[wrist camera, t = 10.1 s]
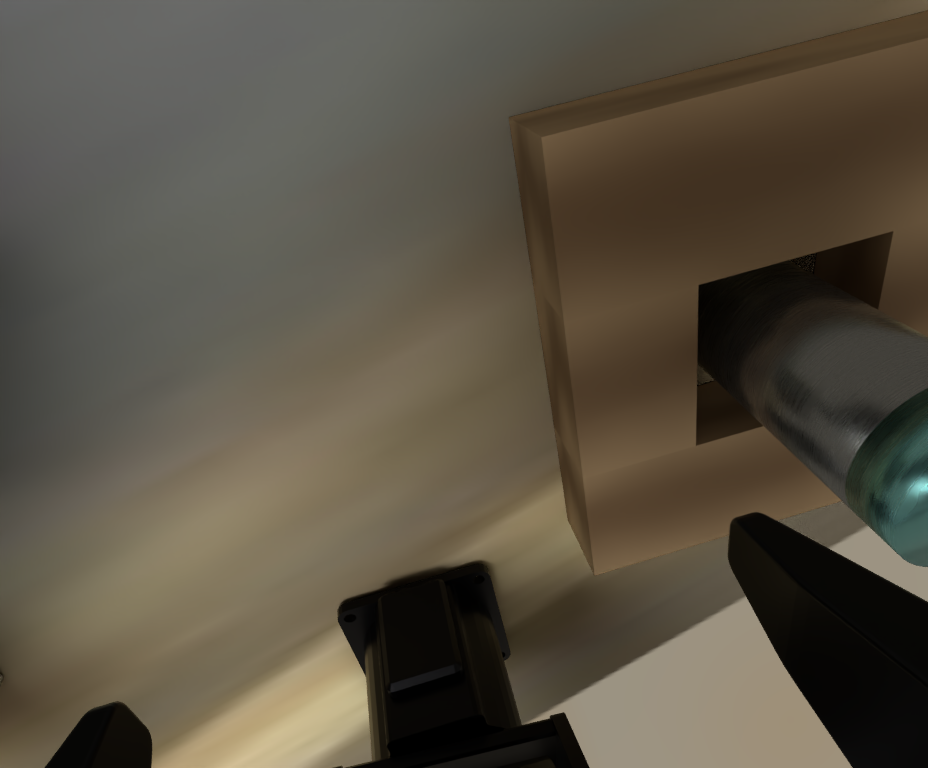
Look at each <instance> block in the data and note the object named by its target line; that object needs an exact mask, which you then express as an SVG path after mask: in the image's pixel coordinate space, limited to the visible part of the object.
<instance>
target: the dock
mask: <svg viewBox="0 0 928 768" xmlns="http://www.w3.org/2000/svg"><path fill="white" fill-rule="evenodd" d="M509 123H510V129H511V136H512V143H513V150H514V157H515V163H516V170H517V177H518V184H519V191H520V197H521V204H522V211H523V218H524V225H525V231H526V238H527V245H528V252H529V259H530V265H531V272H532V279H533V286H534V293H535V299H536V306H537V313H538V320H539V327H540V333H541V340H542V347H543V354H544V361H545V367H546V374H547V381H548V388H549V395H550V401H551V408H552V415H553V422H554V429H555V435H556V442H557V449H558V456H559V463H560V469H561V476H562V483H563V490H564V497H565V503H566V510H567V517H568V521H569V523H570V525H571V527H572V530H573V532H574V534H575V536H576V538H577V540H578V542H579V544H580V546H581V548H582V550H583V552H584V555H585V557H586V559H587V561H588V563H589V565H590V567H591V569H592V571H593V573H594V575H595V576H596V575H599V574H602V573H606V572H609V571H612V570H616V569H619V568H622V567H626V566H629V565H632V564H635V563H639V562H642V561H645V560H649V559H652V558H655V557H659V556H662V555H665V554H668V553H672V552H675V551H678V550H682V549H685V548H688V547H692V546H695V545H698V544H701V543H705V542H708V541H711V540H715V539H718V538H721V537H725V536H728V535H729V528H730V522H731V521H732V519H733V518H735V517H739V516H742V515H745V514H749V513H752V512H760V513H763V514H765V515H767V516H769V517H771V518H773V519H775V520H776V521H777V520H781V519H784V518H787V517H791V516H794V515H797V514H800V513H804V512H807V511H810V510H814V509H817V508H820V507H824V506H827V505H830V504H833V503H837V502H840V501H842V500H841V499H840V498H839V497H837V496H836V495H835V494H834V493H833V492H832V491H831V490H830V489H829V488H828V487H827V486H826V485H825V484H824V483H823V482H822V481H821V480H820V479H819V478H818V477H816V476H815V475H814V474H813V473H812V472H811V471H810V470H809V469H808V468H807V467H806V466H805V465H804V464H803V463H802V462H801V461H800V460H799V459H798V458H796V457H795V456H794V455H793V454H792V453H791V452H790V451H789V450H788V449H787V448H786V447H785V446H784V445H783V444H782V443H781V442H780V441H779V440H778V439H777V438H775V437H774V436H773V435H772V434H771V433H770V432H769V431H768V430H767V429H766V428H765V427H764V426H763V425H762V424H761V423H760V422H759V421H758V420H757V419H755V418H754V417H753V416H752V415H751V414H750V413H749V412H748V411H747V410H746V409H745V408H744V407H743V406H742V405H741V404H740V403H739V402H738V401H737V400H736V399H734V398H733V397H732V396H731V395H730V394H729V393H728V392H727V391H726V390H725V389H724V388H723V387H722V386H721V385H720V384H719V383H718V382H717V381H714V382H710V383H707V384H703V385H700V386H697V348H698V285H700V284H704V283H707V282H711V281H715V280H718V279H722V278H726V277H729V276H733V275H736V274H740V273H744V272H747V271H751V270H754V269H758V268H762V267H765V266H769V265H773V264H776V263H780V262H783V261H787V260H791V259H794V258H798V257H801V256H805V255H809V254H812V253H816V252H817V254H816V261H815V269H814V275H816V276H817V277H819V278H821V279H823V280H825V281H827V282H828V283H830V284H832V285H834V286H836V287H837V288H839V289H841V290H843V291H845V292H847V293H848V294H850V295H852V296H854V297H856V298H858V299H859V300H861V301H863V302H865V303H867V304H869V305H870V306H872V307H874V308H876V309H878V310H879V311H881V312H883V313H885V314H887V315H889V316H890V317H892V318H894V319H896V320H898V321H900V322H901V323H903V324H905V325H907V326H909V327H911V328H912V329H914V330H916V331H918V332H920V333H922V334H923V335H925V336H927V337H928V11H925V12H921V13H917V14H913V15H909V16H905V17H901V18H897V19H893V20H889V21H885V22H881V23H877V24H874V25H870V26H866V27H862V28H858V29H854V30H850V31H846V32H842V33H838V34H834V35H830V36H826V37H822V38H819V39H815V40H811V41H807V42H803V43H799V44H795V45H791V46H787V47H783V48H779V49H775V50H771V51H767V52H764V53H760V54H756V55H752V56H748V57H744V58H740V59H736V60H732V61H728V62H724V63H720V64H716V65H712V66H709V67H705V68H701V69H697V70H693V71H689V72H685V73H681V74H677V75H673V76H669V77H665V78H661V79H658V80H654V81H650V82H646V83H642V84H638V85H634V86H630V87H626V88H622V89H618V90H614V91H610V92H606V93H603V94H599V95H595V96H591V97H587V98H583V99H579V100H575V101H571V102H567V103H563V104H559V105H555V106H551V107H548V108H544V109H540V110H536V111H532V112H528V113H524V114H520V115H516V116H512V117H509Z"/></svg>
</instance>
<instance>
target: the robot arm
mask: <svg viewBox="0 0 928 768" xmlns="http://www.w3.org/2000/svg"><path fill="white" fill-rule="evenodd" d="M728 560H729V564H730V566H731V569H732V571H733V573H734V575H735V577H736V579H737V580H738V582H739V584H740V586H741V588H742V590H743V592H744V593H745V595H746V597H747V599H748V600H749V603H750V604H751V606H752V608H753V610H754V612H755V614H756V616H757V617H758V619H759V621H760V623H761V625H762V627H763V628H764V630H765V632H766V634H767V636H768V638H769V640H770V641H771V643H772V645H773V647H774V649H775V651H776V653H777V654H778V656H779V658H780V660H781V661H782V663H783V665H784V667H785V668H786V670H787V671H788V673H789V674H790V676H791V677H792V679H793V680H794V682H795V683H796V685H797V686H798V688H799V689H800V691H801V692H802V694H803V695H804V697H805V698H806V700H807V701H808V702H809V704H810V706H811V707H812V709H813V710H814V711H815V713H816V714H817V716H818V717H819V719H820V720H821V722H822V723H823V725H824V726H825V728H826V729H827V731H828V732H829V734H830V735H831V737H832V738H833V739H834V741H835V742H836V744H837V745H838V747H839V748H840V750H841V751H842V753H843V754H844V756H845V757H846V758H847V760H848V762H849V763H850V764H851V766H852V767H853V768H928V602H927V601H925V600H923V599H922V598H920V597H918V596H916V595H914V594H912V593H910V592H909V591H906V590H905V589H903V588H901V587H899V586H897V585H895V584H894V583H892V582H890V581H888V580H886V579H884V578H882V577H880V576H879V575H877V574H875V573H873V572H871V571H869V570H868V569H866V568H864V567H862V566H860V565H858V564H856V563H855V562H853V561H851V560H849V559H847V558H845V557H843V556H842V555H840V554H838V553H836V552H834V551H832V550H830V549H828V548H827V547H825V546H823V545H821V544H819V543H817V542H815V541H814V540H812V539H810V538H808V537H806V536H804V535H802V534H801V533H799V532H797V531H795V530H793V529H791V528H789V527H788V526H786V525H784V524H782V523H780V522H778V521H776V520H775V519H773V518H771V517H769V516H767V515H765V514H763V513H760V512H752V513H749V514H745V515H742V516H739V517H735V518H733V519H732V521H731V522H730V528H729V543H728ZM476 576H477V577H476ZM338 622H339V624H340V626H341V628H342V630H343V632H344V634H345V636H346V638H347V640H348V642H349V644H350V646H351V648H352V650H353V652H354V654H355V656H356V658H357V660H358V662H359V664H360V666H361V668H362V670H363V672H364V674H365V676H366V682H367V696H368V711H369V725H370V739H371V754H372V761H371V762H367V763H362V764H358V765H354V766H350V767H346V768H589V766H588V764H587V761H586V759H585V757H584V755H583V753H582V750H581V748H580V746H579V744H578V741H577V739H576V737H575V735H574V732H573V730H572V728H571V726H570V724H569V721H568V719H567V717H566V715H565V713H559V714H555V715H551V716H550V719H546V720H542V721H537V722H533V723H529V724H525V725H522V724H521V720H520V717H519V713H518V709H517V706H516V702H515V699H514V695H513V692H512V688H511V685H510V681H509V677H508V674H507V670H506V667H505V663H504V661H505V660H506V659H508V658H509V656H510V649H509V645H508V641H507V638H506V634H505V630H504V626H503V623H502V619H501V615H500V611H499V608H498V604H497V600H496V596H495V593H494V589H493V585H492V581H491V578H490V574H489V571H488V568H487V567H486V566H485V565H483V564H476V565H472V566H468V567H465V568H462V569H458V570H455V571H452V572H448V573H445V574H442V575H438V576H435V577H432V578H428V579H425V580H422V581H418V582H415V583H411V584H408V585H405V586H401V587H398V588H395V589H391V590H388V591H385V592H381V593H378V594H375V595H371V596H368V597H365V598H361V599H358V600H354V601H351V602H348V603H345V604H343V605H341V606H340V607H339V609H338ZM151 763H152V739H151V735H150V733H149V730H148V729H147V727H146V726H145V725H144V724H143V723H142V722H141V721H140V720H139V719H138V717H137V716H136V715H135V714H134V713H133V712H132V711H131V710H130V709H129V708H128V707H127V705H125V704H124V703H122V702H119V701H117V702H113V703H109V704H106V705H102V706H99V707H96V708H93V709H91V710H90V711H88V712H87V713H86V714H85V715H84V716H83V717H82V718H81V720H80V721H79V722H78V724H77V725H76V726H75V728H74V729H73V730H72V732H71V733H70V734H69V736H68V737H67V738H66V740H65V741H64V742H63V744H62V745H61V746H60V748H59V749H58V750H57V752H56V753H55V754H54V756H53V757H52V759H51V760H50V761H49V763H48V764H47V765H46V767H45V768H151ZM333 768H343V767H342V766H338V767H333Z"/></svg>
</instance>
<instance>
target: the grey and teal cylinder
mask: <svg viewBox="0 0 928 768" xmlns="http://www.w3.org/2000/svg"><path fill="white" fill-rule="evenodd" d="M697 363H698V364H699V365H700V366H701V367H702V368H703V369H704V370H705V371H706V372H707V373H708V374H709V375H710V376H711V377H712V378H713V379H714V380H716V381H717V382H718V383H719V384H720V385H721V386H722V387H723V388H724V389H725V390H726V391H727V392H728V393H729V394H730V395H731V396H732V397H733V398H734V399H736V400H737V401H738V402H739V403H740V404H741V405H742V406H743V407H744V408H745V409H746V410H747V411H748V412H749V413H750V414H751V415H752V416H753V417H754V418H755V419H757V420H758V421H759V422H760V423H761V424H762V425H763V426H764V427H765V428H766V429H767V430H768V431H769V432H770V433H771V434H772V435H773V436H774V437H775V438H777V439H778V440H779V441H780V442H781V443H782V444H783V445H784V446H785V447H786V448H787V449H788V450H789V451H790V452H791V453H792V454H793V455H794V456H795V457H796V458H798V459H799V460H800V461H801V462H802V463H803V464H804V465H805V466H806V467H807V468H808V469H809V470H810V471H811V472H812V473H813V474H814V475H815V476H816V477H818V478H819V479H820V480H821V481H822V482H823V483H824V484H825V485H826V486H827V487H828V488H829V489H830V490H831V491H832V492H833V493H834V494H835V495H836V496H837V497H839V498H840V499H841V500H842V501H843V502H844V503H845V504H846V505H847V506H848V507H849V508H850V509H851V510H852V511H853V512H854V513H855V514H856V515H857V516H859V517H860V518H861V519H862V520H863V521H864V522H865V523H866V524H867V525H868V526H869V527H870V528H871V529H872V530H873V531H874V532H875V533H876V534H877V535H878V536H880V537H881V538H882V539H883V540H884V541H885V542H886V543H887V544H888V545H889V546H890V547H891V548H892V549H893V550H894V551H895V552H896V553H897V554H899V555H900V556H901V557H902V558H903V559H904V560H906V561H907V562H909V563H911V564H914V565H917V566H923V567H928V337H927V336H925V335H923V334H922V333H920V332H918V331H916V330H914V329H912V328H911V327H909V326H907V325H905V324H903V323H901V322H900V321H898V320H896V319H894V318H892V317H890V316H889V315H887V314H885V313H883V312H881V311H879V310H878V309H876V308H874V307H872V306H870V305H869V304H867V303H865V302H863V301H861V300H859V299H858V298H856V297H854V296H852V295H850V294H848V293H847V292H845V291H843V290H841V289H839V288H837V287H836V286H834V285H832V284H830V283H828V282H827V281H825V280H823V279H821V278H819V277H817V276H816V275H814V274H812V273H810V272H808V271H806V270H805V269H803V268H801V267H799V266H797V265H795V264H794V263H792V262H790V261H788V260H787V261H783V262H780V263H776V264H773V265H769V266H765V267H762V268H758V269H754V270H751V271H747V272H744V273H740V274H736V275H733V276H729V277H726V278H722V279H718V280H715V281H711V282H707V283H704V284H700V285H698V348H697Z"/></svg>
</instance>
